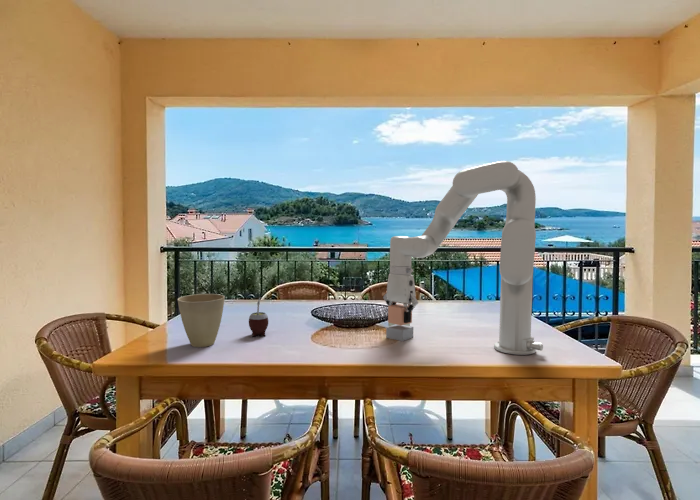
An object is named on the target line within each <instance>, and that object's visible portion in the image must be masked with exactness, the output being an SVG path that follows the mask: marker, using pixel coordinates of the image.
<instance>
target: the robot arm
mask: <svg viewBox="0 0 700 500" xmlns="http://www.w3.org/2000/svg"><path fill="white" fill-rule="evenodd" d="M452 179H453V180H452V186H451V187H450V188H449V190H448V191H447V193H446V194H445V195H444V196H443V198H442V199H441V200H440V201H439V203H438V204H437V205H436V208H435V210H434V216H433V218H432V220H431V222H430V223H429V225H428V226H427V228H426V229H425V230H424V231H423V233H422V235H418V236H417V235H416V236H408V235H394V236H391V238H390V240H389V244H390V245H389V274H388V278H387V282H386V283H387V284H386V293H385V294H384V295H383V296H382V297H383V298H382V299H384V302H385V303H386V305H387V307H388V306H391V305H396V304H403V305H404V308H405V312H404V323H409V322H411V311H412V312H413V310H414V308H416V306H418V304H419V301H418V299H417V298H416V284H415V278H414V275H413V274H412V273H413V272H414V269H413V268H412V257H413V258H417V259H418V258H419V259H423V258H426V257H429V256H431V255H434V253H435V252H436V251H437V250H438V249H439V247H440V246H441V244H442V243H443V242H444V241H445V239H446V238H447V237H448V235H449V234H450V232H451V231H452V229H453V228H454V227H455V226H456V224H457V222H458V221H459V220H460V218H461V217H462V216H463V215H464V213H465V212H466V211H467V209H468V208H469V207H470V205H472V204H473V202H474V201H475V199H476V198H477V197H478V196H479V195H480V194H486V193H490V192H495V191H502V192H504V194H505V195H506V216H505V224H504V227H503V228H502V232H501V239H500V240H501V242H500V257H499V274H500V293H499V294H500V299H499V300H500V301H499V330H498V331H499V332H498V333H499V337H498V338H499V339H498V341H496V342H494V343H493V348H494V349H495V350H497V351H498V352H501V353H505V354H510V355H518V356H524V355H525V356H526V355H527V356H528V355H532V354H535V353H536V352H537V351H540V352H541V351H543V349H544V344H543V343H542V342H538V341H537V342H536V341H535V337H534V336H532V312H533V311H532V310H533V308H532V307H533V305H532V304H533V277H534V275H533V274H534V264H535V253H536V238H537V230H536V227H535V222H536V200H537V198H536V190H535V186H534V184H533V182H532V180H531V179H530V177H529V176H527V175H526V174H525V173H524V172H522V171H521V170H519V169H518V167H517V165H516V164H515V163H513V162H511V161H508V160H501V161H500V160H499V161H496V162H492V163H486V164H483V165H478V166H474V167H470V168H465V169H463V170H460V171H459V172H457V173H456V174H455V175H454V177H453V178H452ZM407 305H408V306H407Z"/></svg>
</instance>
